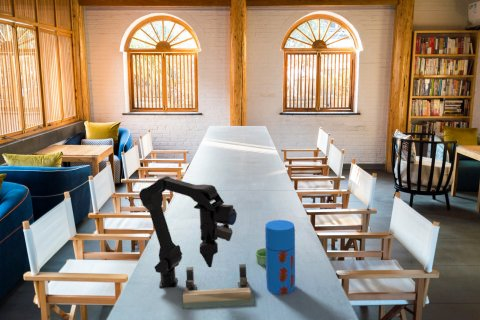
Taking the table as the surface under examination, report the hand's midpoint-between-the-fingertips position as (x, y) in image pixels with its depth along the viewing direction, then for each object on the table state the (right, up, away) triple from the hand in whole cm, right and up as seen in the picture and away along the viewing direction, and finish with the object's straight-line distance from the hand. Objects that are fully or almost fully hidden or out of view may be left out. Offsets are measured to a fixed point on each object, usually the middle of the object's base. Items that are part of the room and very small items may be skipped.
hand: (210, 261), depth 165 cm
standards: (+2, -12, +6) cm, 14 cm away
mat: (+3, -14, -2) cm, 14 cm away
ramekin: (+22, -7, +28) cm, 36 cm away
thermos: (+26, -11, +6) cm, 29 cm away
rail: (+3, -13, -2) cm, 13 cm away
